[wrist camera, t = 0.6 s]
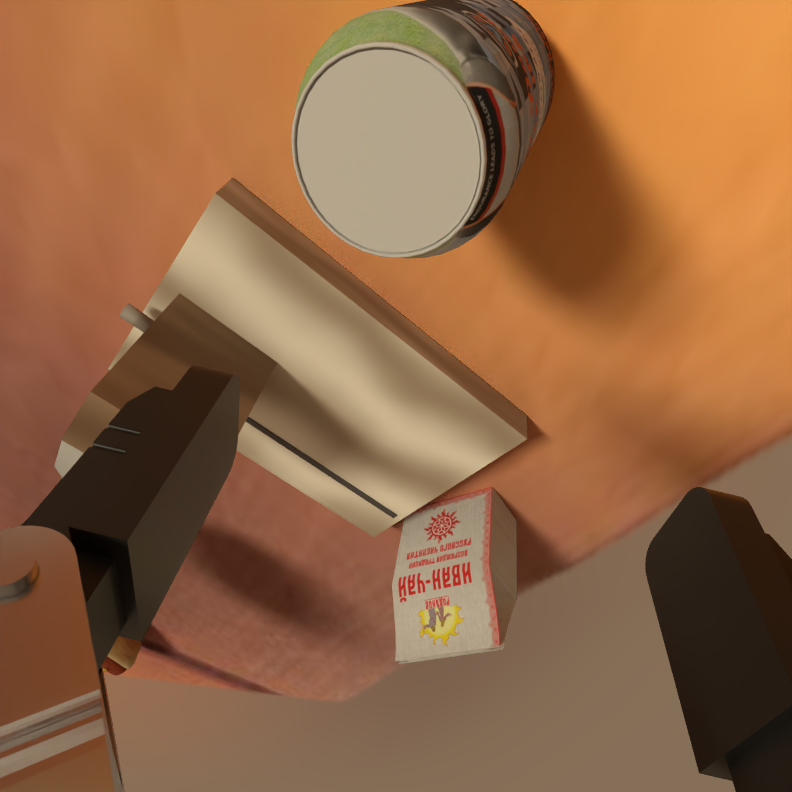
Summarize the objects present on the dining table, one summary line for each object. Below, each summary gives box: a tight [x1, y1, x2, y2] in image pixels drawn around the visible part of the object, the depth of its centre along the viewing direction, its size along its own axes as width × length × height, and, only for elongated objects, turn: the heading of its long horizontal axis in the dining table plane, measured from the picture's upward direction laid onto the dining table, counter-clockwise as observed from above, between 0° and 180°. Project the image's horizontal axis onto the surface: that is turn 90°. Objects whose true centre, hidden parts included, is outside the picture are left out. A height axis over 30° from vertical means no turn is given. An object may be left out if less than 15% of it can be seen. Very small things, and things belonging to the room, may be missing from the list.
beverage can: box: [292, 0, 554, 258], centre depth 18 cm, size 6×7×12 cm
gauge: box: [62, 293, 277, 453], centre depth 28 cm, size 4×8×8 cm, turn 50°
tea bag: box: [392, 487, 517, 664], centre depth 36 cm, size 4×7×10 cm, turn 122°
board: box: [108, 178, 527, 537], centre depth 33 cm, size 14×20×2 cm
